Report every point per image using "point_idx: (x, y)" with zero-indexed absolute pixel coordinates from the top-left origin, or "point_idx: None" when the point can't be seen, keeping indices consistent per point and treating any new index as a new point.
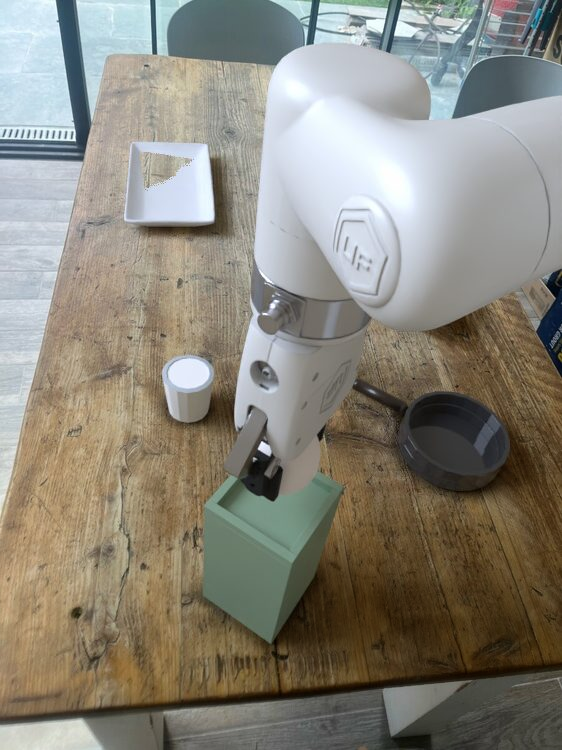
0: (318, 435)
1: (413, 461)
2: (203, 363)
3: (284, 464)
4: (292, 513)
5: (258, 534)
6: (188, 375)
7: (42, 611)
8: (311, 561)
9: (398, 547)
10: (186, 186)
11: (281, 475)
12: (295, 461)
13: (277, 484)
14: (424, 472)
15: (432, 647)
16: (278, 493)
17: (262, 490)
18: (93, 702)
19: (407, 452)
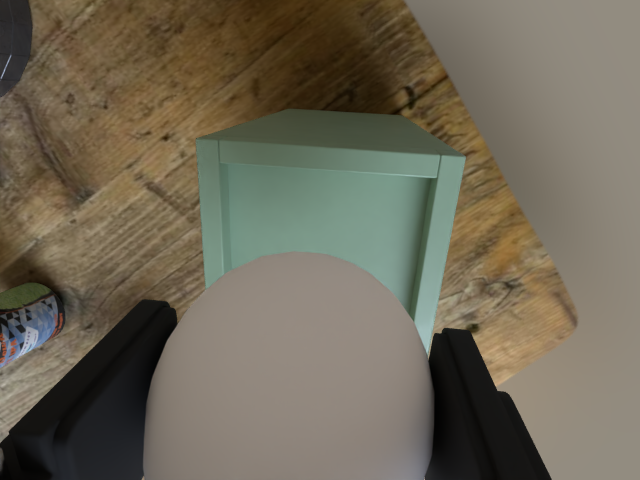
0: (149, 335)
1: (16, 50)
2: None
3: (406, 438)
4: (327, 212)
5: (432, 258)
6: None
7: (487, 356)
8: (318, 120)
9: (169, 8)
10: None
11: (498, 449)
12: (375, 418)
13: (506, 413)
14: (19, 22)
15: None
16: (453, 342)
17: (522, 422)
18: (551, 260)
19: (9, 68)
